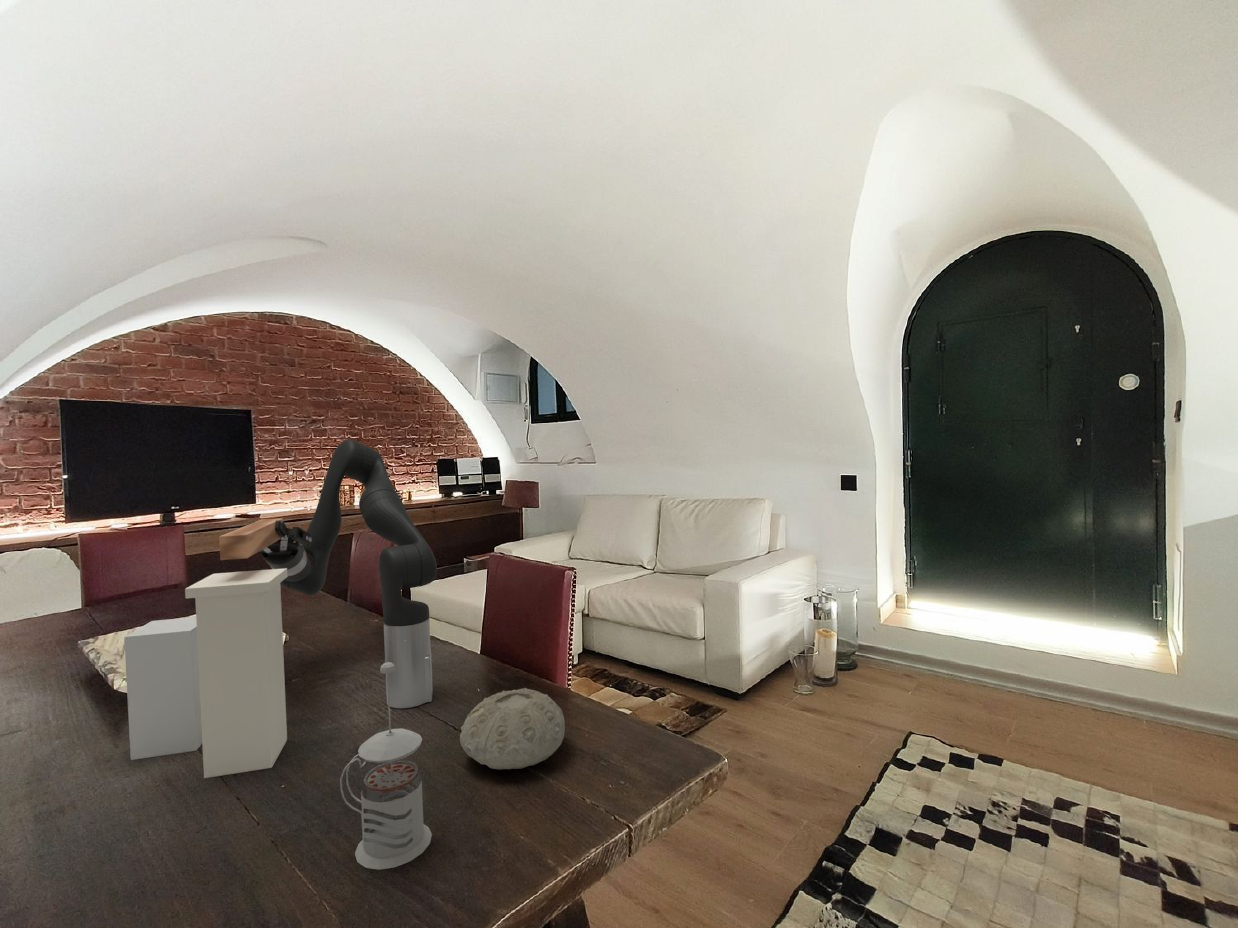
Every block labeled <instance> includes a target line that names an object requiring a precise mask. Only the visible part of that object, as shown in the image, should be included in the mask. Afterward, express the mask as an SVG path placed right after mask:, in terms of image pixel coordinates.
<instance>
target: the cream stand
mask: <svg viewBox="0 0 1238 928" xmlns="http://www.w3.org/2000/svg"><path fill="white" fill-rule="evenodd" d="M287 577H288V576H287V568H284V569H272V568H271V569H260V570H258V569H257V570H248V571H246V570H244V571H234V572H233V571H232V572H220V573H219V572H218V573H212V574H210V575H208V576H206V577H204V578H202V579H201V580H198V581H196V582H195V583H193V584H191V585H190V586H188V587H186V588H185V589H184V594H185V595H184V596H185V597H184V598H185V599H195V617H196V623H197V643H198V664H199V684H200V705H201V725H202V744H201V746H202V760H203V761H202V763H203V765H202V766H203V779H208V778H215V777H221V776H225V775H226V776H227V775H233V774H240V773H246V772H252V771H259V770H265V769H272V768H273V766H274V764H275V762H276V761H277V759H278V757H279V755H280V754H281V752H282V750H283V748H284V746H285V745H286V743H287V741H288V730H287V706H286V685H285V682H286V681H285V679H286V678H285V661H284V641H283V640H284V639H283V638H284V637H283V615H282V594H281V590H282V587H281V585H280V582H282V581H283V580H284V579H285V578H287Z"/></svg>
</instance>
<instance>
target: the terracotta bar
mask: <svg viewBox="0 0 1238 928" xmlns="http://www.w3.org/2000/svg"><path fill="white" fill-rule="evenodd" d="M276 520H280V521H281V522H283V523H284V518H282V517H281V518H262V519H259V520H256V521H253V522H254V523H251V524H250V523H248V524H249V525H248V524H247V525H245V526H242V527H240V528H237V529H235V530H232V531H230V532H227V533H225V534H222V535H219V536H218V539H219V541H218V542H219V561H226V560H241V559H243V560H244V559H249V558H250V557H252V556H254V555H255V554H257V553H259V552H260V551H261V550H262V549H264V548H266V547H268V546H269V545H271V544H273V543H275V542H276V541H278V540H280V539H281V537H280V536H279V535H278V534H277V532H276V531H275V524H276V522H275V521H276Z"/></svg>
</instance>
